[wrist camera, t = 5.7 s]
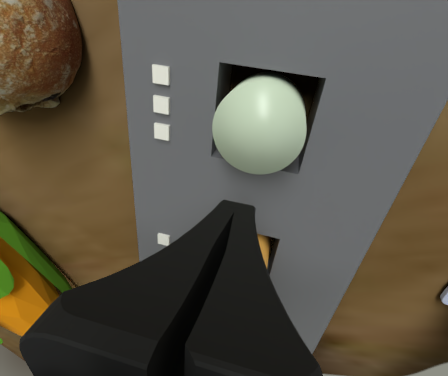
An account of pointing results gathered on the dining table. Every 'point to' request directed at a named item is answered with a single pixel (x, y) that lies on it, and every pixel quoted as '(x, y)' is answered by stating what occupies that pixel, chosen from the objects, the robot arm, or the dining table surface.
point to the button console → (316, 126)
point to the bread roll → (37, 52)
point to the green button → (261, 124)
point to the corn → (24, 279)
